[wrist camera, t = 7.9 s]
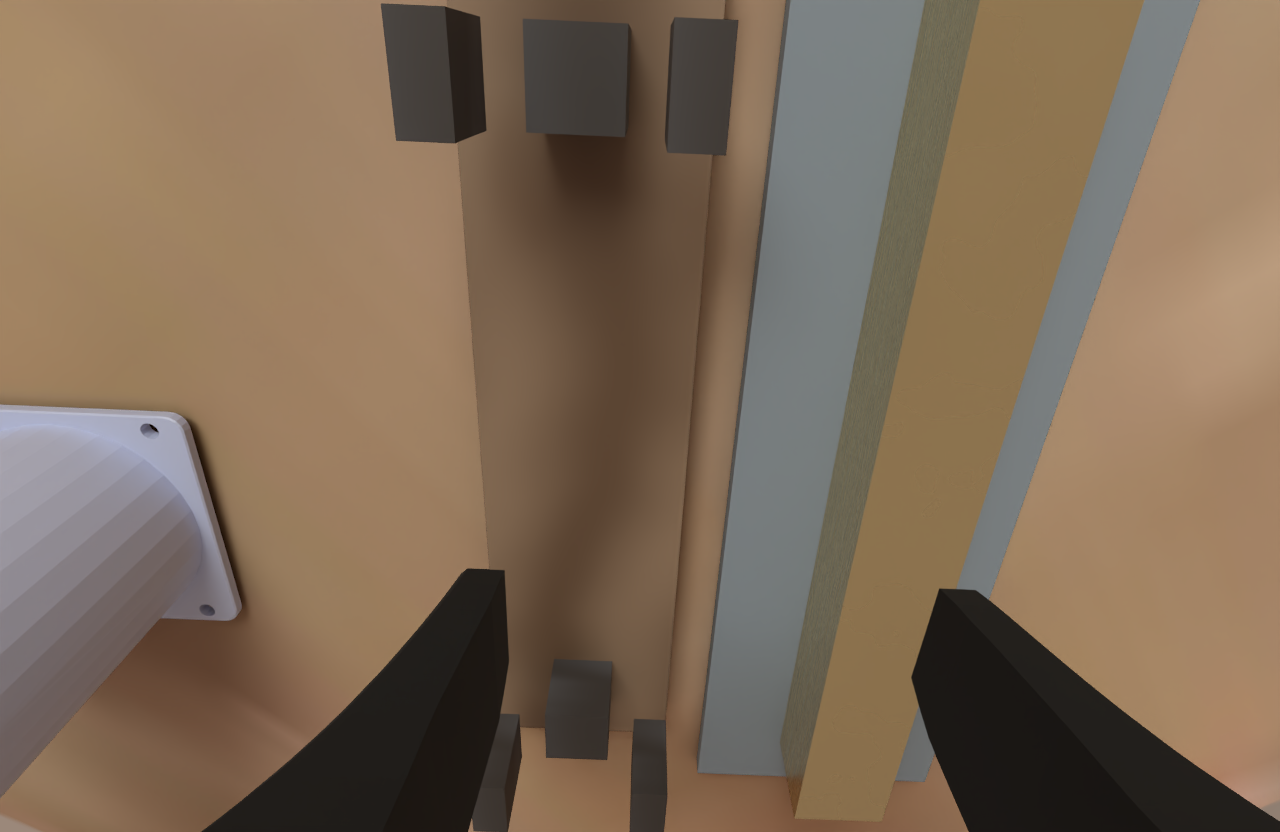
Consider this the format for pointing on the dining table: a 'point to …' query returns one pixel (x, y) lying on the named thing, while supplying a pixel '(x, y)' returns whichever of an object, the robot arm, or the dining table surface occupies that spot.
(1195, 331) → the dining table surface
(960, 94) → the rail
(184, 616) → the robot arm
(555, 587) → the rail stand
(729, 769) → the mat
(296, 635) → the dining table surface
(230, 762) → the dining table surface
